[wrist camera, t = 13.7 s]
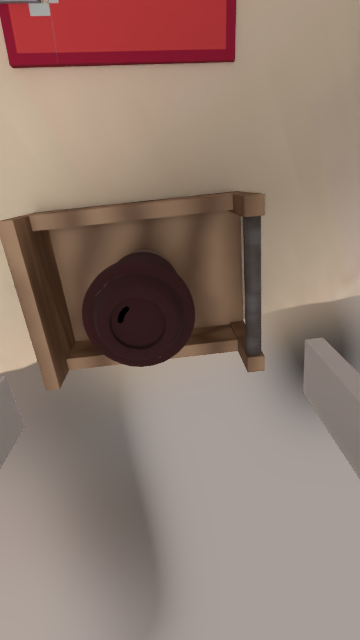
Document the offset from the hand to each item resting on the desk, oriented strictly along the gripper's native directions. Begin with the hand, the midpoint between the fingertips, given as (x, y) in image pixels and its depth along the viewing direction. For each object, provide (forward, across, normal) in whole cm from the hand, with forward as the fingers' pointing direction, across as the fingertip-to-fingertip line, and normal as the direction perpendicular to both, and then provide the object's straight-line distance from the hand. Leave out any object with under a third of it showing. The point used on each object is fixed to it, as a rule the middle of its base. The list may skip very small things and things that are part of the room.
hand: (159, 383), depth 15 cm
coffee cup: (+28, +3, +2) cm, 28 cm away
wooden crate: (+29, +2, +3) cm, 29 cm away
